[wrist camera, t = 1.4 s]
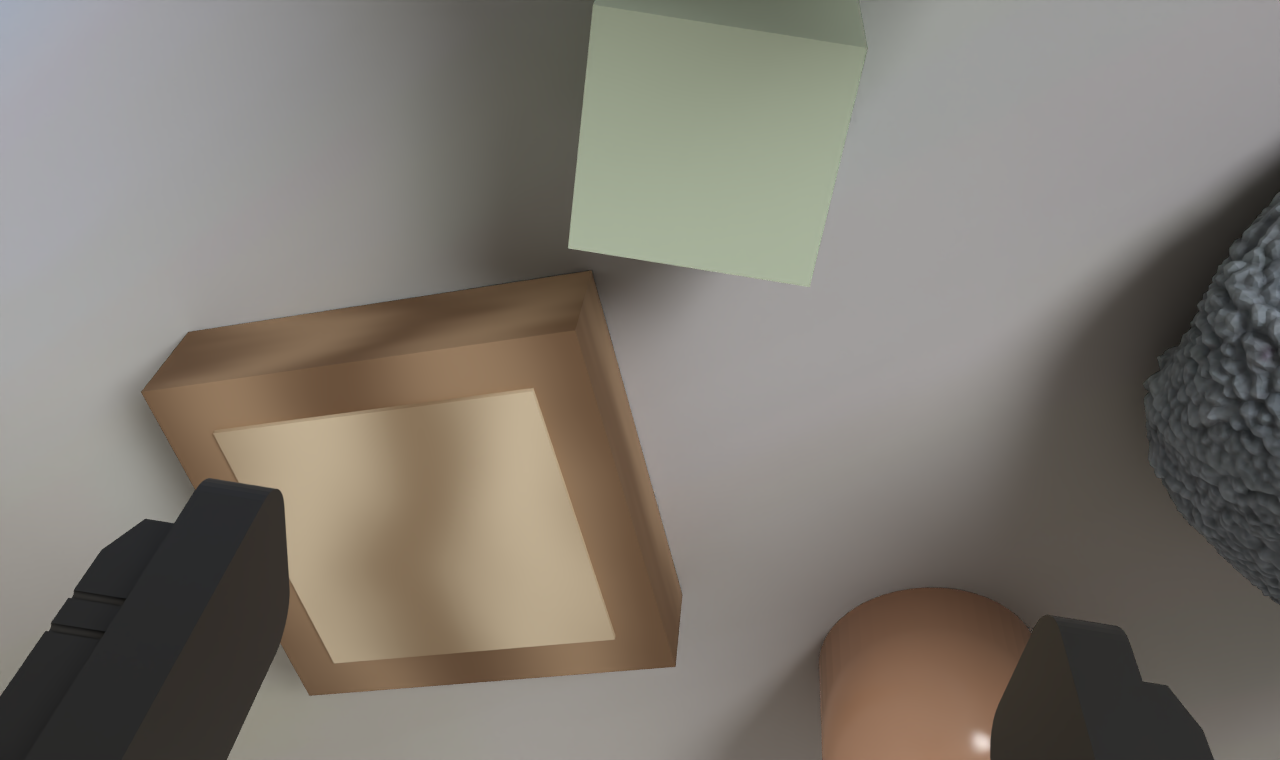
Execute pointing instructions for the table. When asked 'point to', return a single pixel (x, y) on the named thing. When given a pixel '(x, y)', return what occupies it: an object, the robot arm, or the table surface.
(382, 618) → the walnut base
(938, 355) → the table surface
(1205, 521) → the koala plush
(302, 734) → the table surface
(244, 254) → the table surface
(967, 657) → the tan rounded block
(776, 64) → the sage block
